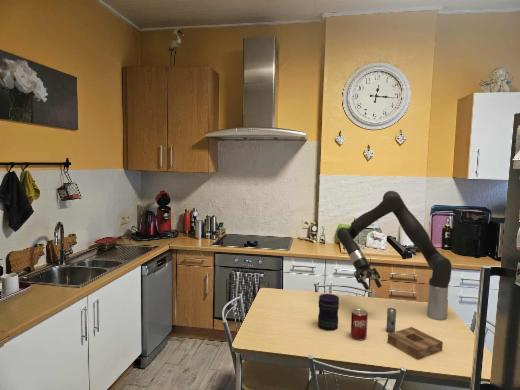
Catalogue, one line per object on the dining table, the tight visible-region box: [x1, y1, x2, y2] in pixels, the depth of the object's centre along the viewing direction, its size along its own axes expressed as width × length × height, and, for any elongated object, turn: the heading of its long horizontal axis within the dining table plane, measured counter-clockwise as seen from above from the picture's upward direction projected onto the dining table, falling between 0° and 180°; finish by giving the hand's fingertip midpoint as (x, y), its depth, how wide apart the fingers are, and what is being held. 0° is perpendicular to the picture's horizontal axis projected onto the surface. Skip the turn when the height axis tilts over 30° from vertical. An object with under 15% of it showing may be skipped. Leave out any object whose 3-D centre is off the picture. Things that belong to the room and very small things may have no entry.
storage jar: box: [317, 293, 340, 332], centre depth 178 cm, size 10×10×15 cm
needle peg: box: [385, 307, 397, 334], centre depth 174 cm, size 4×4×11 cm
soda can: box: [350, 308, 369, 341], centre depth 168 cm, size 7×7×12 cm
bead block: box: [386, 326, 444, 361], centre depth 160 cm, size 16×16×4 cm
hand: (374, 288), depth 183 cm, fingers open, 8 cm apart
